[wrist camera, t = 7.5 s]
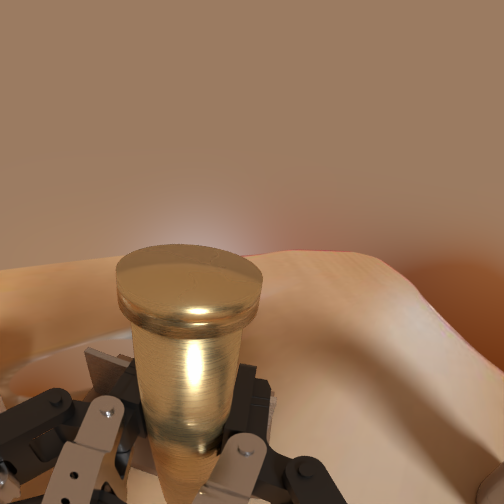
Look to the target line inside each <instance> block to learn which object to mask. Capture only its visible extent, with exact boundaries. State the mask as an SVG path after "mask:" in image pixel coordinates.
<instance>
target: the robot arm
mask: <svg viewBox="0 0 504 504" xmlns="http://www.w3.org/2000/svg"><path fill="white" fill-rule="evenodd" d="M256 368H257V366H252V365H246V364H241V363H240V365H239V369H238V373H237V377H236V382H235V386H234V390H233V397H232V404H231V410H230V414H229V417H228V419H227V420H226V422H225V426H224V432H223V440H222V447H221V455H220V457H219V459H218V461H217V463H216V465H215V467H214V469H213V471H212V473H211V475H210V477H209V479H208V480H207V482H206V483H205V484H203V485H202V487H201V488H200V490H199V491H198V493H197V495H196V497H195V498H194V500H193V502H192V504H248V502H249V499H250V496H251V495H253V496H256V497H258V498H261V499H263V500H266V501H268V502H271V504H347V503H346V501H345V499H344V498H343V496H342V494H341V493H340V491H339V490H338V488H337V486H336V485H335V483H334V481H333V480H332V478H331V476H330V475H329V473H328V471H327V470H326V468H325V466H324V465H323V464H322V463H321V462H320V461H319V460H318V459H316V458H313V457H310V456H299V457H296V458H294V459H291V458H288V457H286V456H283V455H281V454H278V453H277V452H275V451H274V450H273V449H272V448H271V447H270V446H269V444H268V442H267V426H268V417H269V407H270V397H271V388H270V385H269V383H268V381H267V380H264V379H258V378H255V374H256ZM52 428H53V429H52ZM49 430H50V431H49ZM47 431H48V432H47ZM45 432H46V433H45ZM43 433H44V434H43ZM41 434H42V435H41ZM40 435H41V436H40ZM147 435H148V434H147V429H146V424H145V419H144V414H143V409H142V403H141V398H140V392H139V385H138V379H137V372H136V364H135V357H134V358H133V360H132V361H131V363H130V364H129V366H128V367H127V368H126V370H125V371H124V373H123V374H122V375H121V377H120V378H119V380H118V381H117V382H116V384H115V385H114V387H113V388H112V390H111V391H110V392H109V394H108V395H105V396H100V397H97V398H95V399H94V400H93V401H92V402H83V401H77V400H72V398H71V396H70V394H69V393H68V392H67V391H66V390H64V389H61V388H52V389H49V390H47V391H45V392H43V393H41V394H39V395H37V396H35V397H33V398H31V399H29V400H27V401H25V402H23V403H21V404H19V405H17V406H14V407H12V408H10V409H8V410H6V411H4V412H2V413H0V504H127V503H126V501H127V479H128V474H129V470H130V466H131V462H132V458H133V454H134V450H135V445H134V443H135V441H136V439H137V437H138V436H139V437H142V438H144V439H146V437H147ZM38 436H39V437H38ZM36 437H37V438H36ZM34 438H35V439H34ZM32 439H33V440H32ZM54 466H55V468H54V470H53V473H52V476H51V478H50V481H49V484H48V486H47V489H46V492H45V494H44V495H40V496H36V497H33V498H29V499H25V500H21V501H16V502H12V503H11V501H12V499H13V498H19V497H20V496H21V492H20V485H22V484H24V483H26V482H27V481H29V480H31V479H33V478H35V477H37V476H38V475H40V474H42V473H44V472H45V471H47V470H49V469H51V468H52V467H54ZM476 504H504V462H503V463H502V464H501V465H500V466H498V467H497V468H496V469H495V470H494V471H493V472H492V473H491V474H490V475H489V476H488V477H487V478H486V479H485V480H484V481H483V482H482V483H481V485H480V487H479V489H478V492H477V498H476Z"/></svg>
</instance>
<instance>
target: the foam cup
mask: <svg viewBox="0 0 504 504" xmlns="http://www.w3.org/2000/svg"><path fill="white" fill-rule="evenodd" d="M4 411H6V408H5V405H4V403H3V400H2V398H1V395H0V413H2V412H4Z"/></svg>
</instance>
